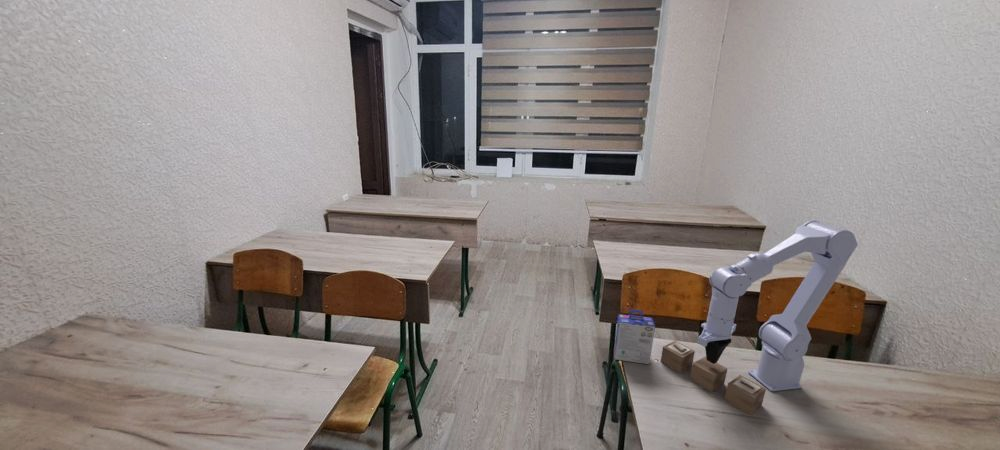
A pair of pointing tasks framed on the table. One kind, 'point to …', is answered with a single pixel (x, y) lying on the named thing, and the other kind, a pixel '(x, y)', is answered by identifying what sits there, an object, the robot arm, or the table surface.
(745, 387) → the numbered block one
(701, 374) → the plain block
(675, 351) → the numbered block seven
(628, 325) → the ink cartridge box
